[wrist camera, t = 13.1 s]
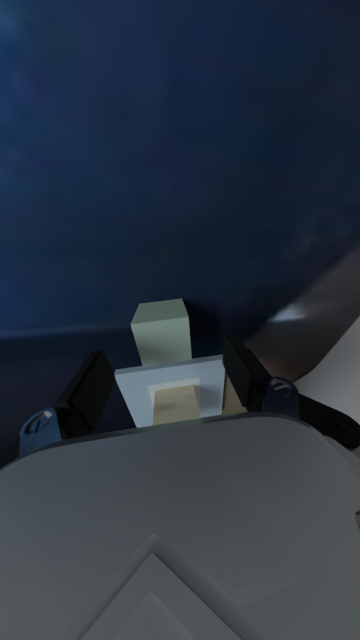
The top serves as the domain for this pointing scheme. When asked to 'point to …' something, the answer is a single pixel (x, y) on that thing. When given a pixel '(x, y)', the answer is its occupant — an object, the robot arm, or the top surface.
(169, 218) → the top surface
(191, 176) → the top surface
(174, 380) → the board
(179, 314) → the sage block
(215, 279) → the top surface
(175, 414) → the birch block
